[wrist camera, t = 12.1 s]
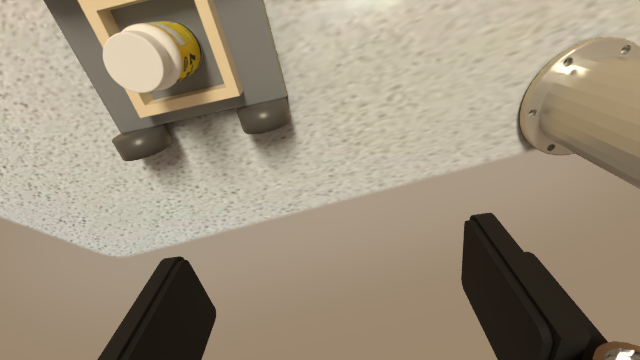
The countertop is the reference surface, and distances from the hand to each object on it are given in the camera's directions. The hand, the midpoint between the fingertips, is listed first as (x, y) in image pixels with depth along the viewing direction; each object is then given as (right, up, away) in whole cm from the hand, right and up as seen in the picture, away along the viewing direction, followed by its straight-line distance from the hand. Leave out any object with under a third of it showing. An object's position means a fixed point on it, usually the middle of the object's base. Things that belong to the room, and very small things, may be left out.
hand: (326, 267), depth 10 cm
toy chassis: (-14, +16, +19) cm, 28 cm away
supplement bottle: (-13, +15, +18) cm, 27 cm away
